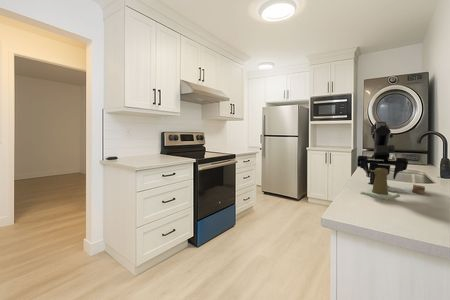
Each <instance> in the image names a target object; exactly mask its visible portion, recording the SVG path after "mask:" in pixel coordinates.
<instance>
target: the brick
mask: <svg viewBox="0 0 450 300" xmlns="http://www.w3.org/2000/svg"><path fill="white" fill-rule="evenodd" d="M411 190H412V193H417V194H418V195H425V191H426V187H425V186H424V185H417V184H413V186H412V189H411ZM417 194H416V195H417Z"/></svg>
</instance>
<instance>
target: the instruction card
mask: <svg viewBox="0 0 450 300" xmlns="http://www.w3.org/2000/svg"><path fill="white" fill-rule="evenodd" d="M387 187H388V191H393V192H397V193H398V192H399V193H405V194H411V195H417V193H412V189H408V188H402V187H397V186H396V187H395V186H389V185H388V186H387Z"/></svg>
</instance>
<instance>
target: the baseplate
mask: <svg viewBox="0 0 450 300" xmlns="http://www.w3.org/2000/svg"><path fill="white" fill-rule="evenodd" d="M372 189H373V188H372ZM372 189H368V190H364V191H360V194H361V195H364V196H369V197H373V198H377V199H380V200H385V201H388V200H390V199H392V198H397V197H400V196H401V195H400V194H399V193H396V192H390V191H388V194H386V195H383V194H376V193H373V192H372Z"/></svg>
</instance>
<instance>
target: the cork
mask: <svg viewBox="0 0 450 300" xmlns="http://www.w3.org/2000/svg"><path fill="white" fill-rule="evenodd" d="M373 171H374V174H375V179H374V184H373V185H372V192H373V193H376V194H383V195H386V194H388V192H389V190H388V187H389V186H388V175H389V174H388V170H387V169H385V168H376V169H375V170H373Z"/></svg>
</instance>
